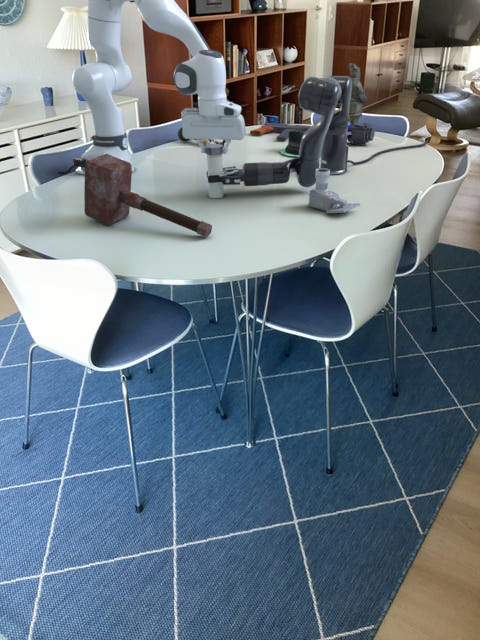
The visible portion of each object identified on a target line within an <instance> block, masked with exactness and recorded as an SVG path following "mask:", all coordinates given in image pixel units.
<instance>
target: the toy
mask: <svg viewBox="0 0 480 640" xmlns="http://www.w3.org/2000/svg"><path fill="white" fill-rule="evenodd" d="M357 124H358V123H357ZM357 124H355V125H354V127H352V124H350V122H348V133H347V142H349V143H352V145H358V146H359V145H360V146H366V144H367V143H369V142H373V140H374V138H375V133H376V129H375V127H374V126H372V123H370V122H363V124H358V125H357Z"/></svg>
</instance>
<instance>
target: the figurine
mask: <svg viewBox="0 0 480 640" xmlns="http://www.w3.org/2000/svg"><path fill="white" fill-rule="evenodd" d="M177 137H178V139H179V141H182V142H191V141H192V140H194V141H197V139H185V138H184V137H183V135H182V127H180V128H179V129H178V132H177ZM202 143H203V145H204V146H206V145H209V144H212V143H213V144H221V145H223V147H225V145H226V143H225V140H222V141H218V140H217V139H203V141H202Z"/></svg>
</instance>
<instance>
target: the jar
mask: <svg viewBox="0 0 480 640" xmlns="http://www.w3.org/2000/svg"><path fill="white" fill-rule="evenodd" d="M206 163H207V165H206V167H207V171H208V176H212V175H219V176H220V175H223V173H224V172H223V168H224V167H223V166H224V164H223V163H224V161H223V154H221V155H207V154H206ZM207 188H208V197H209V198H211V199H220V198H223V197H224V195H225V194H224V185H223V184H222V183H220V182H217V183H209V182H208V181H207Z"/></svg>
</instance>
